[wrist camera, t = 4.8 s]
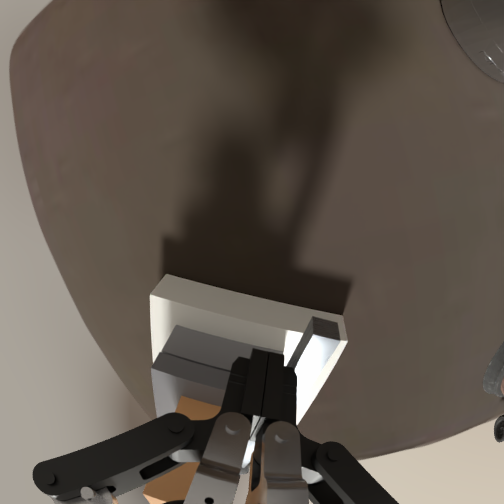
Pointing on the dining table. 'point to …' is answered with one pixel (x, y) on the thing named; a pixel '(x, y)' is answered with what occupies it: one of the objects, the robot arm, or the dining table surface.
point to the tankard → (496, 387)
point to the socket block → (230, 327)
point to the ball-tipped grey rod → (307, 362)
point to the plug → (185, 402)
